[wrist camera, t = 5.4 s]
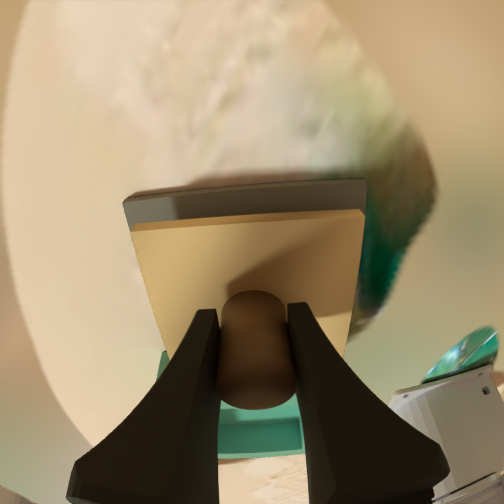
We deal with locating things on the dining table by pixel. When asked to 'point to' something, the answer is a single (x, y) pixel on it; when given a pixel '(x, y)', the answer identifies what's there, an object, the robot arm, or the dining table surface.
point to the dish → (256, 429)
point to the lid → (252, 289)
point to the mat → (248, 200)
